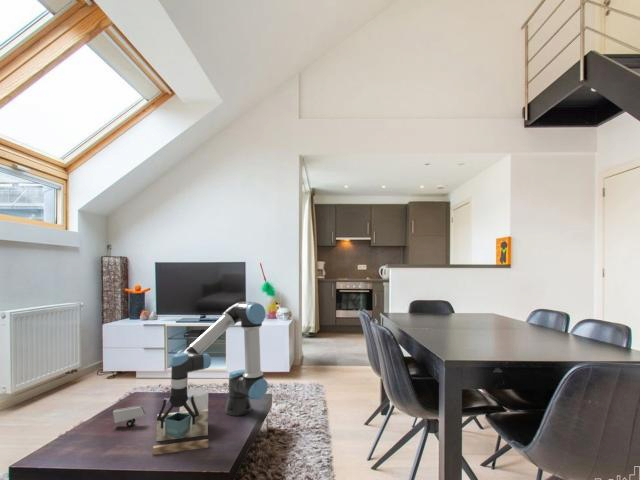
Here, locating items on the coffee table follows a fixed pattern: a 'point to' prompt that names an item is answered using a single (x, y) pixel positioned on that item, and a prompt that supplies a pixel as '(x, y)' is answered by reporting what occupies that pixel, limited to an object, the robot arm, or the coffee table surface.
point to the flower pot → (177, 424)
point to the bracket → (128, 414)
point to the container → (197, 399)
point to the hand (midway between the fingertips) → (177, 433)
